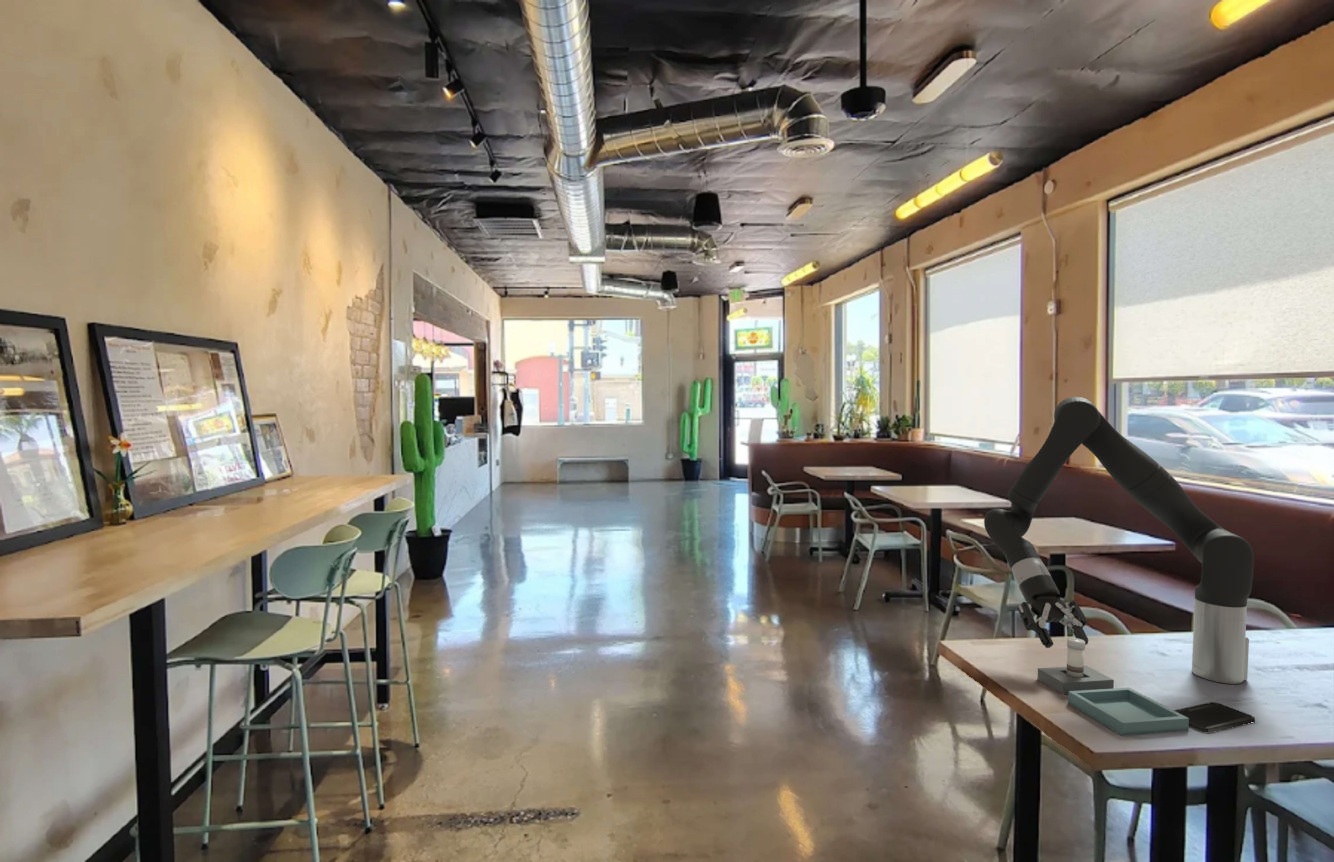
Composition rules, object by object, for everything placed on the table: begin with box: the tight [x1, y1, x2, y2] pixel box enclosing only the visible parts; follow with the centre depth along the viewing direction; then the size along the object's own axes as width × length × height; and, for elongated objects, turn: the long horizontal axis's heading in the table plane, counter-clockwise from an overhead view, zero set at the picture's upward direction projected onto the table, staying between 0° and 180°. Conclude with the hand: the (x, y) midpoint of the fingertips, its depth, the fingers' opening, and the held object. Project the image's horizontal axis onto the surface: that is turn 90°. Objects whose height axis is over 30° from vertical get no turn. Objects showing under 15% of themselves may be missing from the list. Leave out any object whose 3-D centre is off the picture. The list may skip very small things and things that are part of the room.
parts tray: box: [1067, 687, 1190, 737], centre depth 136 cm, size 14×14×2 cm
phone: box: [1173, 701, 1256, 733], centre depth 135 cm, size 8×1×15 cm
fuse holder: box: [1037, 665, 1115, 695], centre depth 150 cm, size 12×8×2 cm, turn 98°
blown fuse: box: [1066, 637, 1086, 678], centre depth 150 cm, size 3×3×10 cm
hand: (1067, 645), depth 153 cm, fingers open, 8 cm apart
